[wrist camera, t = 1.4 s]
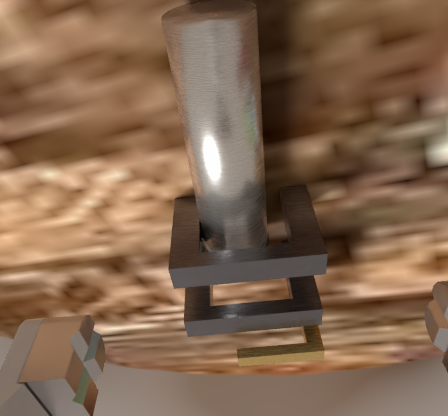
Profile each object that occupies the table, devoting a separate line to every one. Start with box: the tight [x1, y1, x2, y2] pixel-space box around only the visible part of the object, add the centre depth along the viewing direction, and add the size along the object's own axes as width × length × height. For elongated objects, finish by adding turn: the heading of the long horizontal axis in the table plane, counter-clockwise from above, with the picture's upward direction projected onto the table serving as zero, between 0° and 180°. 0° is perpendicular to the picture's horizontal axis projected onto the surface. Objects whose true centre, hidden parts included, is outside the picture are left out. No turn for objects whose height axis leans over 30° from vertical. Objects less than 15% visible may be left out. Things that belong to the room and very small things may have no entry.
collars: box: [169, 185, 328, 366], centre depth 32 cm, size 11×10×9 cm
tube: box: [161, 0, 269, 252], centre depth 27 cm, size 18×5×5 cm, turn 6°
